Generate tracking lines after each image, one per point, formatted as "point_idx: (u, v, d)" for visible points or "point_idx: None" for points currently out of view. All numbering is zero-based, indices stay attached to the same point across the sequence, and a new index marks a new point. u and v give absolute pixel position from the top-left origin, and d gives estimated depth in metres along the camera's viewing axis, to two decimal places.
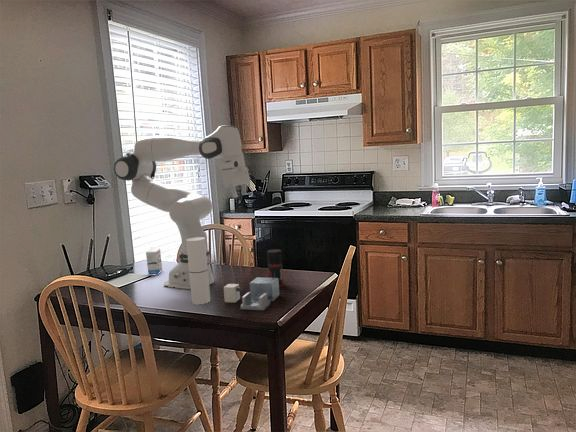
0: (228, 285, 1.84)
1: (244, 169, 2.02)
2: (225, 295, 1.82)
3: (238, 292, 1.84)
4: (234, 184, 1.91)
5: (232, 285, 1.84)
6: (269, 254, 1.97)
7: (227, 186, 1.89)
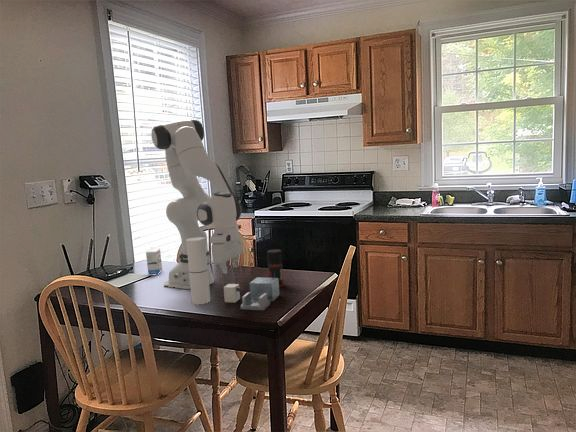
0: (228, 285, 1.84)
1: (237, 239, 1.85)
2: (225, 295, 1.82)
3: (238, 292, 1.84)
4: (225, 260, 1.74)
5: (232, 285, 1.84)
6: (269, 254, 1.97)
7: (217, 262, 1.72)
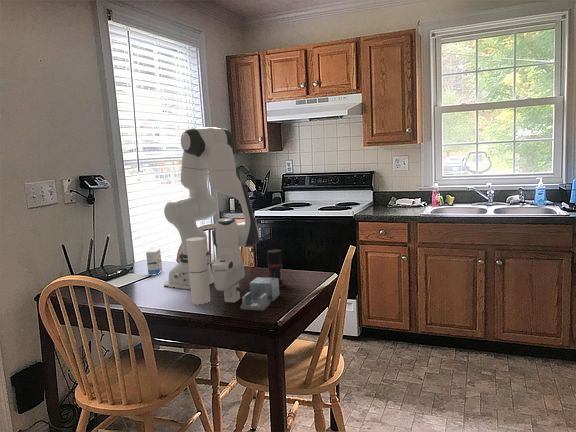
0: None
1: (239, 264, 1.87)
2: (225, 295, 1.82)
3: (238, 292, 1.84)
4: (227, 287, 1.76)
5: None
6: (269, 254, 1.97)
7: (219, 289, 1.74)
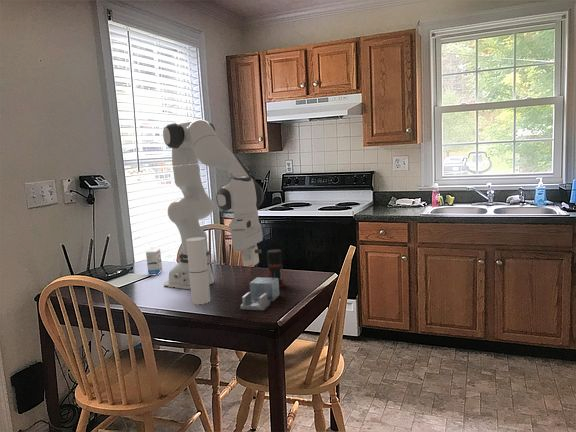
0: None
1: (257, 226, 1.76)
2: (243, 258, 1.71)
3: (257, 255, 1.73)
4: (245, 247, 1.64)
5: (250, 247, 1.73)
6: (269, 254, 1.97)
7: (237, 250, 1.63)
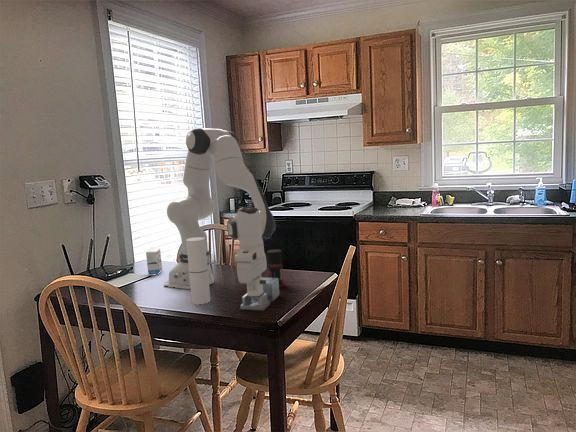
0: None
1: (262, 256, 1.77)
2: (248, 288, 1.72)
3: (261, 285, 1.74)
4: (250, 279, 1.66)
5: None
6: (269, 254, 1.97)
7: (242, 282, 1.64)
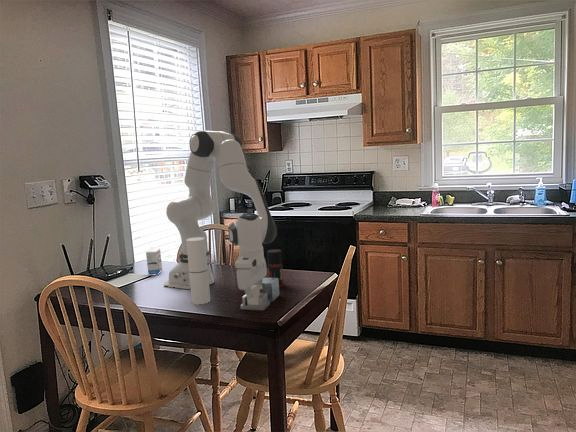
0: None
1: (262, 262, 1.77)
2: None
3: (261, 294, 1.75)
4: (250, 286, 1.66)
5: (255, 286, 1.74)
6: (269, 254, 1.97)
7: (242, 289, 1.64)
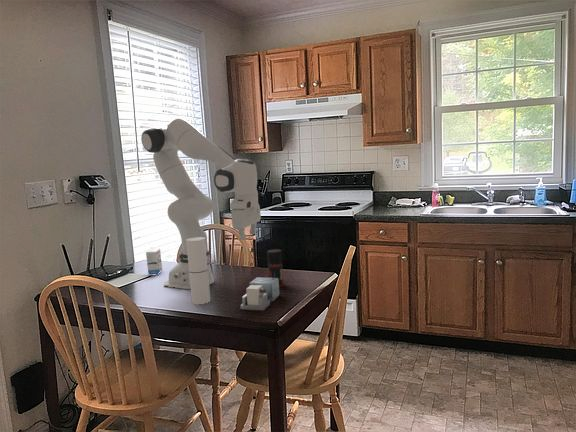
0: (251, 286, 1.74)
1: (256, 207, 1.87)
2: (248, 297, 1.73)
3: (261, 294, 1.75)
4: (244, 226, 1.75)
5: (255, 286, 1.74)
6: (269, 254, 1.97)
7: (236, 228, 1.74)
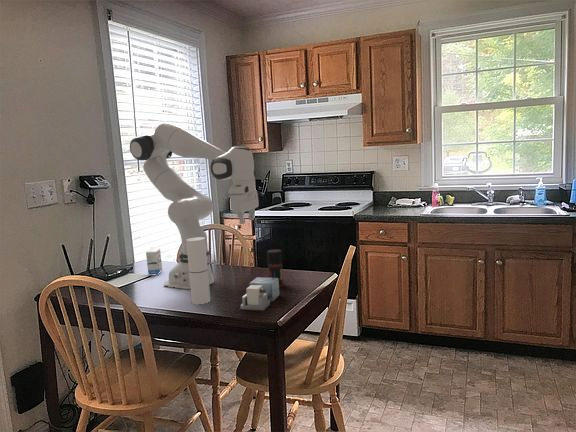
0: (251, 286, 1.74)
1: (254, 193, 1.92)
2: (248, 297, 1.73)
3: (261, 294, 1.75)
4: (242, 210, 1.81)
5: (255, 286, 1.74)
6: (269, 254, 1.97)
7: (235, 212, 1.79)
